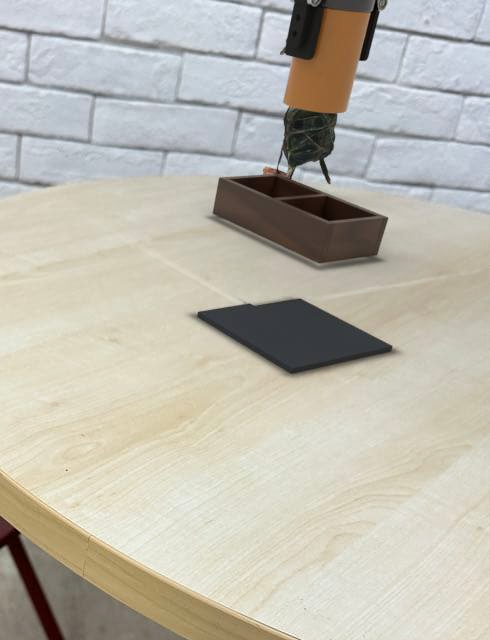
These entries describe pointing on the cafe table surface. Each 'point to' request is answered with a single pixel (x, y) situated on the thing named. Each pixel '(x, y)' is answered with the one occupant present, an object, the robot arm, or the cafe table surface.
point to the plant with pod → (306, 139)
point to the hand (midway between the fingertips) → (326, 55)
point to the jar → (330, 59)
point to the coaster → (294, 334)
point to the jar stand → (300, 217)
